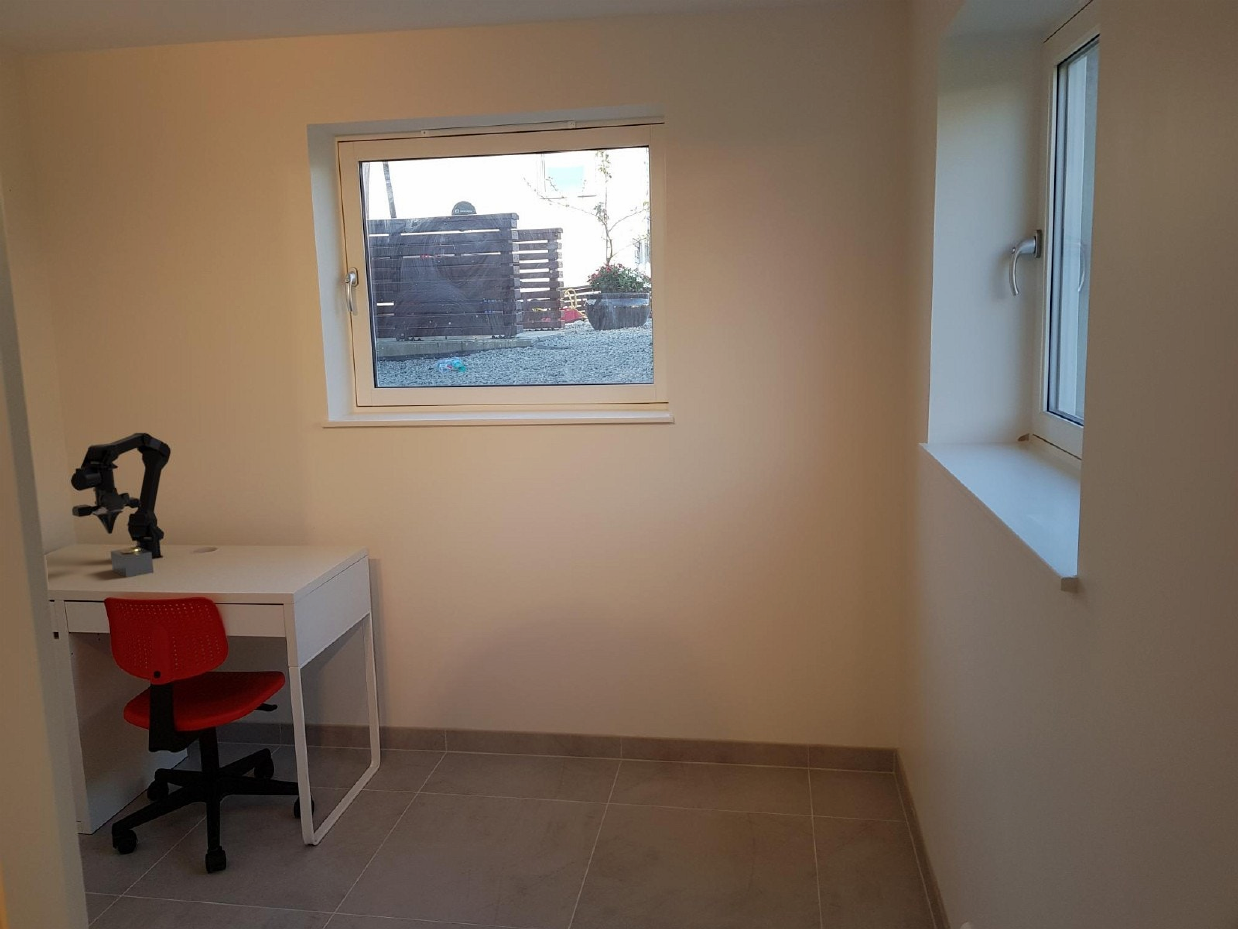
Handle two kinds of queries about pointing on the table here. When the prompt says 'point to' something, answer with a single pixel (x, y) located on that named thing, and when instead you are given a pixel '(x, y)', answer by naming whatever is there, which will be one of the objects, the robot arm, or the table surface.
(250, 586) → the table surface
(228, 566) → the table surface
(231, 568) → the table surface
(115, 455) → the robot arm
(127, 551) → the bushing
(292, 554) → the table surface
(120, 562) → the jig
